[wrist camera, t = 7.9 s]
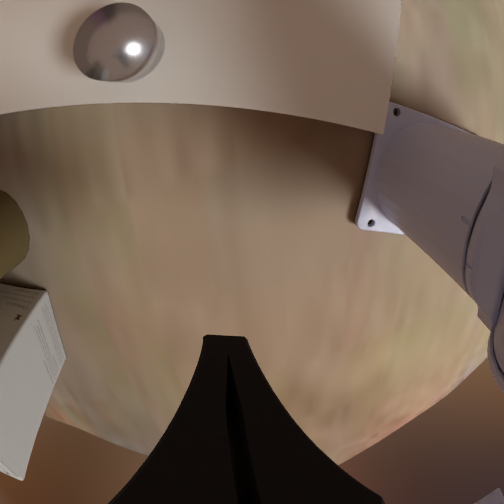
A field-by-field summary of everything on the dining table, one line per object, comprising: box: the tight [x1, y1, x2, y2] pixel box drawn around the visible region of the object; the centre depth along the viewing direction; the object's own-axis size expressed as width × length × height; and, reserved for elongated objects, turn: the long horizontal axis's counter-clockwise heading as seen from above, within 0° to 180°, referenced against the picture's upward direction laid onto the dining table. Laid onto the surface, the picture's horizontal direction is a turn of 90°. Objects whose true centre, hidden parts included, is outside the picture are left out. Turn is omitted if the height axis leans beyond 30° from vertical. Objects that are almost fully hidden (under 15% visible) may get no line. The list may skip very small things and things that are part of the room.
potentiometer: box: [73, 2, 165, 83], centre depth 9 cm, size 3×3×2 cm
